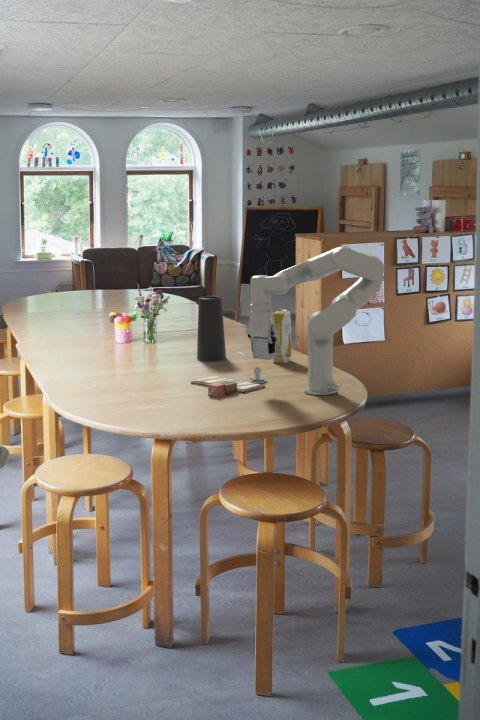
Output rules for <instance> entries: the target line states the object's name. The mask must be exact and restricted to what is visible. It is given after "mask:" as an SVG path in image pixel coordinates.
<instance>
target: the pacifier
mask: <svg viewBox="0 0 480 720" xmlns="http://www.w3.org/2000/svg"><path fill="white" fill-rule="evenodd" d="M261 372H262V369H261V368H260V367H259V366H255V367H254V368H253V373H254V377H250V376H249V377H248V379H250V380H251V383H255V384H264V383H267V380H265V379H266V378H267V375H262V376H261Z"/></svg>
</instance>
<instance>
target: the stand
mask: <svg viewBox="0 0 480 720" xmlns="http://www.w3.org/2000/svg"><path fill="white" fill-rule="evenodd" d="M219 383H221V384H225V395H224V396H230V395H234V394H237V393H238V392H237V383H235V382H230V381H223V382H219Z"/></svg>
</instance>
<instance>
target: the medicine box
mask: <svg viewBox="0 0 480 720" xmlns="http://www.w3.org/2000/svg"><path fill="white" fill-rule="evenodd" d="M270 338H271V337H270ZM271 339H272V338H271ZM268 344H269V341H268V338H262V337H252V345H251V348H252V347H253V352H252V358H253V359H257V360H265V361H271V360H272V359H274V358H275V353H271V354H269V348H268Z"/></svg>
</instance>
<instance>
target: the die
mask: <svg viewBox="0 0 480 720" xmlns="http://www.w3.org/2000/svg"><path fill="white" fill-rule="evenodd" d="M207 388H208V391H207V393H208V395H207V396H208V397H212V398H219V397H223V396H226V395H225V384H221V383H213V384H209V385H208V387H207Z"/></svg>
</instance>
